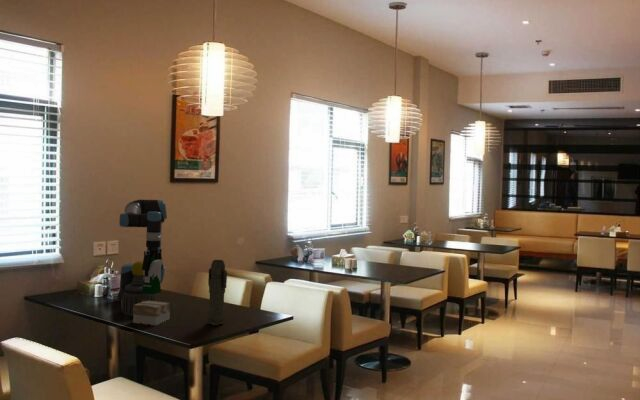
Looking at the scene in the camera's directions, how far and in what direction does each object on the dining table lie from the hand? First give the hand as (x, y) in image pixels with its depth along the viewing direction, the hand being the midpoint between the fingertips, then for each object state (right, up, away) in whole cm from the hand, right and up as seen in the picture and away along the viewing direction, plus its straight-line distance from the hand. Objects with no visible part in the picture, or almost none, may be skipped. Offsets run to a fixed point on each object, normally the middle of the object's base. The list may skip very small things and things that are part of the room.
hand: (151, 280), depth 318 cm
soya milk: (0, -7, 0) cm, 7 cm away
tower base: (-1, -23, +1) cm, 23 cm away
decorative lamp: (-13, -21, +19) cm, 31 cm away
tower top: (-1, -18, +1) cm, 18 cm away
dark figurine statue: (+35, -24, +2) cm, 42 cm away
